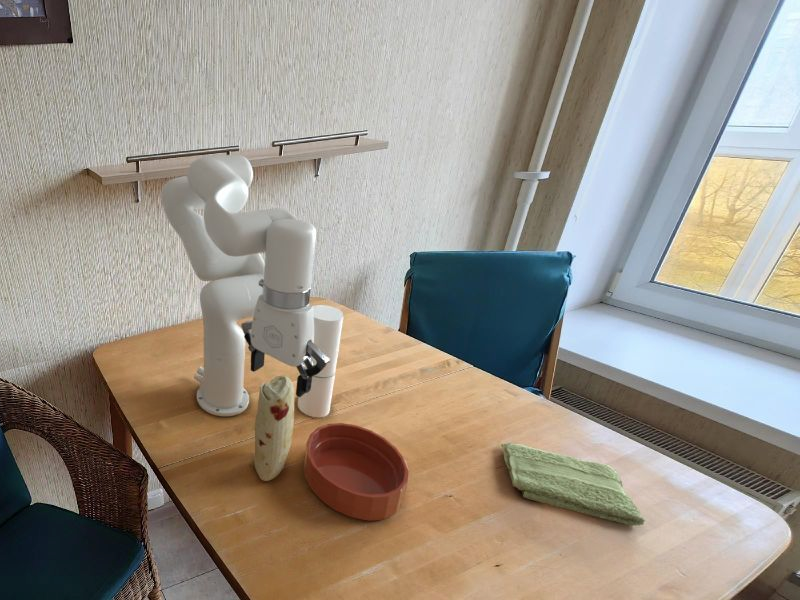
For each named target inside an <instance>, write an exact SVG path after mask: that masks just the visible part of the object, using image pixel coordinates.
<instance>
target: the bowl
mask: <svg viewBox="0 0 800 600" xmlns="http://www.w3.org/2000/svg"><path fill="white" fill-rule="evenodd" d="M305 444H306V445H305V451H304V459H303V471H304V472H303V473H304V477H305V480H306V482H307V484H308V486H309V488H310V489H311V490H312V492H313V493H314V495H316V496H317V497H318V499H319V500H320V501H322V502H323V503H324V504H325V505H327V506H328V507H330V508H331V509H333V510H334V511H336V512H338V513H341V514H343V515H345V516H347V517H350V518H354V519H359V520H363V521H381V520H386V519H387V518H389V517H391V516H393V515H396V513H397V512H398V511H399V510H400V509H401V507H402V506H403V503H404V499H405V495H406V491H407V487H408V482H409V474H410V471H409V468H408V467H409V466H408V465H407V462H406V460H405V457H404V456H403V455H402V453H401V452H400V451H399V450H398V448H397V447H396V446H395V445H393V444H392V443H391V442H390V441H388V440H387V438H385V437H384V436H382V435H380V434H378V433H376V432H374V431H373V430H371V429H368V428H365V427H362V426H360V425H357V424H351V423H343V422H337V423H326V424H324V425H321V426H319V427H317V428H315V429H314V430H313V431H312V432H311V433H310V434H309V436H308V438H307V441H306V442H305Z"/></svg>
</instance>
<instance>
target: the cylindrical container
mask: <svg viewBox="0 0 800 600" xmlns="http://www.w3.org/2000/svg"><path fill="white" fill-rule="evenodd" d="M312 309H313V316H314V344H315V345H316V346H317V347H318V348H319V349H320V350H321V351H322V352H323V353H324V354H325V355H326V356H327V357H328V358H329V359H330V363H329V364H328V365H327V366H326V367H325V368H324V369H323V370H322V371H321V372H320V373H318V374H317V375H314V376H312V385H311V389H310V391H309V392H308V393H305V394H304V395H302V396H301V397H298V396H297V408H298V409H299V410H300V412H301V413H303V414H305V415H306V416H309V417H312V418H324V417H326V416H328V415H329V414H330V412H331V411H330V410H331V404H332V398H333V391H334V383H335V378H336V370H337V363H338V356H339V350H340V343H341V336H342V328H343V322H344V317H345V316H344V312H343V311H341V309H339V308H337V307H335V306H331V305H325V304H316V305H312ZM310 359H311V361H312V362H313V364H314V365H316V363H317V362H316V360H315V359H314V358H313V357H312V356H311V357H310ZM302 363H303V365H304V366H305V368H306V369H307V367H306V365H305V363H304V362H302Z"/></svg>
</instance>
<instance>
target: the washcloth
mask: <svg viewBox="0 0 800 600" xmlns="http://www.w3.org/2000/svg"><path fill="white" fill-rule="evenodd" d="M501 447H502V451H503V459H504V463H505V465H506V467H507V469H508V474H509V476H510V479H511V483H512V487H514V488H517V489H518V491H521V494H522V497H523V498H525V499H528V500H530V501H536V502H538V503H539V502H540V503H543V504H547V505H549V506H552V507H558V508H562V509H567V510H569V511H573V512H578V513H579V514H584V515H588V516H593V517H596V518H599V519H606V520H608V521H611V522H615V523H619V524H624V525H627V526H631V527H634V526H637V527H638V526H641V525H644V524H645V522H646V520H645V518H644V516H643V514H642V513H641V512H640V510H639V509H638V508H637V506H636V505H635V503H634V501H633V499H632V498H631V497H630V495H627V493H626V491H625V490H624V488H623V481H622V480H621V476H620V475H619V473H618V472H617V471H616V470H615V469H614V467H612V466H611V465H608V464H606V463H601V462H597V461H590V460H589V461H588V460H585V459H584V460H583V459H580V458H576V457H574V456H570V455H565V454H561V453H556V452H552V451H546V450H542V449H539V448H535V447H531V446H528V445H525V444H521V443H511V442H510V443H509V442H508V443H507V442H506V443H505V442H504V443H501Z"/></svg>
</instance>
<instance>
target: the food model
mask: <svg viewBox="0 0 800 600" xmlns="http://www.w3.org/2000/svg"><path fill="white" fill-rule="evenodd" d="M258 393H259V394H258V401H257V409H256V410H257V411H256V415H255V421H254V422H255V423H254V456H253V457H254V458H253V462H254V468H255V471H256V473H257V475H258V477H259V479H260V480H261V481H264V482H269V481H271V480H274V479H275V478H276V477H277V476H279V474H280V473H281V472H282V471H283V469H284V467H285V465H286V461H287V458H288V455H289V453H290V449H291V444H292V440H293V431H294V423H295V422H294V420H295V387H294V383H293V381H292V380H291V378H289V377H288V376H287V375H278V376H275V377H274V378H272V379H271V380H269V381H268V382H264V381H262V383H261V385H260V387H259V392H258Z"/></svg>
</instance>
